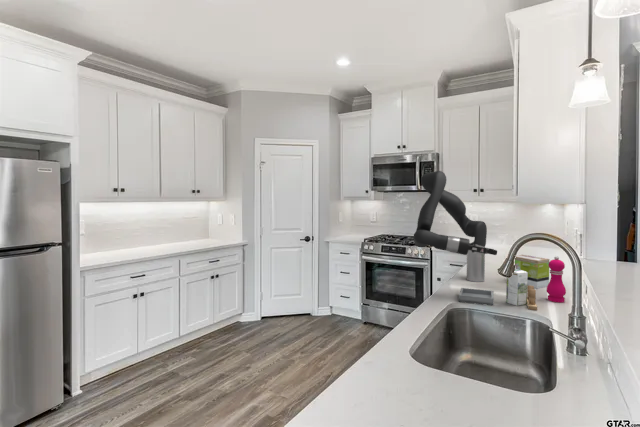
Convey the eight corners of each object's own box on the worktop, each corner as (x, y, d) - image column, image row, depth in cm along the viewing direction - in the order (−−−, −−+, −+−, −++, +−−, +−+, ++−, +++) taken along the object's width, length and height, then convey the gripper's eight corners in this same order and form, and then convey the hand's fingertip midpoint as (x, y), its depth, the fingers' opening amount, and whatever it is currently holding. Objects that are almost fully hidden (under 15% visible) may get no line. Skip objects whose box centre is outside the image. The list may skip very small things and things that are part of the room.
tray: (461, 293, 169) (461, 287, 169) (493, 297, 163) (493, 290, 163) (458, 301, 157) (458, 295, 157) (493, 305, 150) (493, 298, 150)
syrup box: (515, 301, 157) (515, 268, 156) (527, 304, 151) (527, 271, 150) (505, 302, 155) (506, 269, 154) (517, 306, 149) (517, 272, 148)
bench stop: (525, 300, 157) (526, 283, 157) (533, 301, 156) (533, 284, 156) (528, 309, 145) (528, 291, 144) (537, 310, 143) (537, 292, 143)
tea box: (509, 282, 190) (510, 255, 189) (522, 280, 194) (522, 254, 193) (537, 289, 176) (537, 259, 176) (549, 286, 180) (550, 258, 180)
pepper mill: (559, 298, 160) (560, 254, 159) (569, 303, 153) (570, 257, 152) (543, 298, 160) (543, 254, 160) (551, 302, 153) (552, 257, 152)
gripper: (459, 237, 156) (499, 244, 151) (458, 237, 170) (494, 243, 165) (456, 254, 157) (496, 261, 151) (455, 252, 170) (491, 259, 165)
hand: (495, 252), depth 158 cm, fingers open, 8 cm apart
